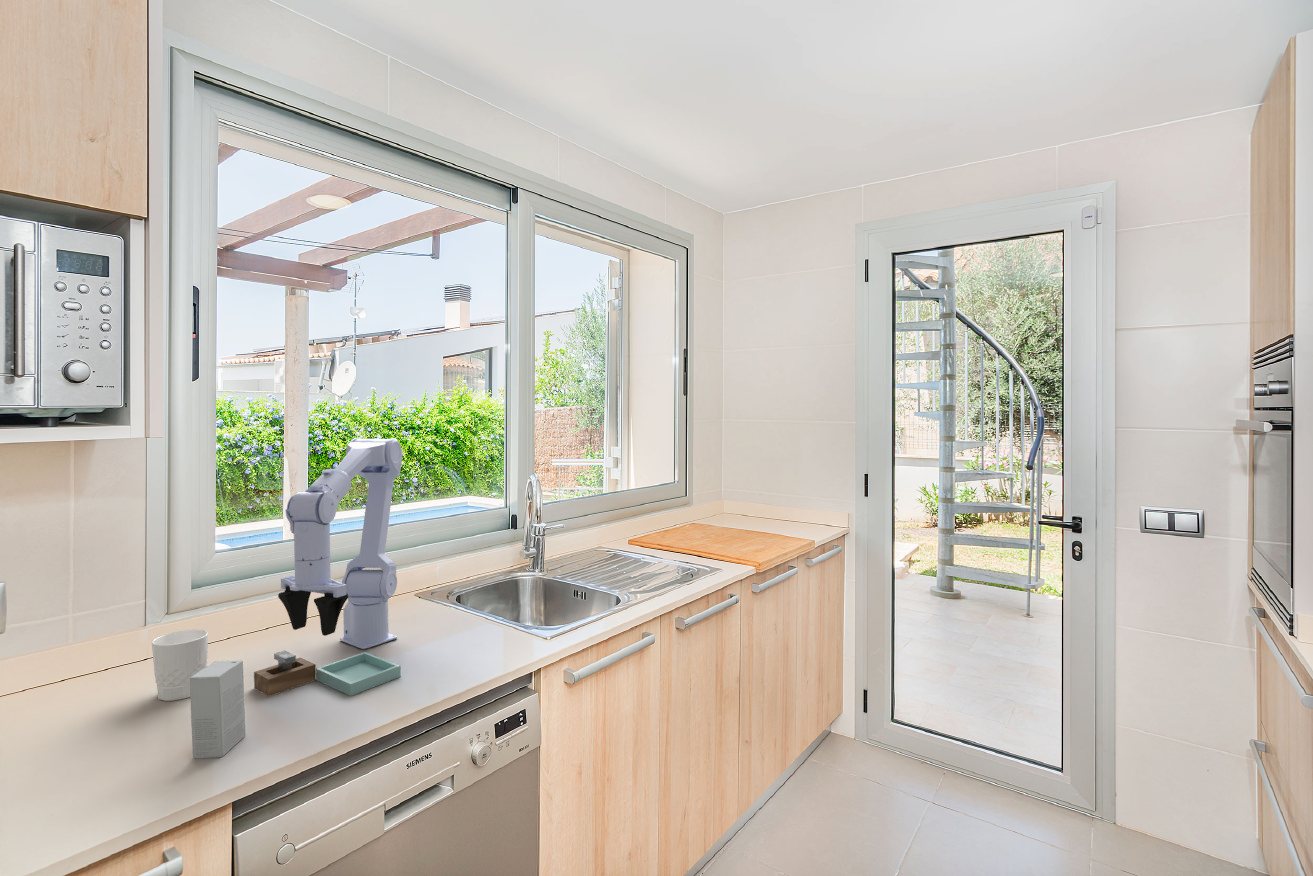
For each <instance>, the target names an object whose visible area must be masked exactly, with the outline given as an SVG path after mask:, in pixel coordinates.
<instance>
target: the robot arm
mask: <svg viewBox="0 0 1313 876" xmlns="http://www.w3.org/2000/svg"><path fill="white" fill-rule="evenodd" d="M345 450H346V453H345V456H344V457H343V458H342V459H341V461H340V462H339V464H338V465H337V466H336V468H331V469H329V468H328V469H325V470H324V471H323V472H322V474H321V475H319V477H318V478H317V479H316V480H315V481H314V482H313V483H311V485H309V487H308V488H307V489H306V490H305V491H298V492H297V493H295V494H294V495H291V497H290V498H289V499H288V501H287V505H286V509H285V517H286V519H287V521H288V522H289V527H290V529H289V531H290V532H291V534H293V546H294V547H293V551H294V554H293V555H294V556H293V557H294V558H293V559H294V575H293V576H292V575H289V576H285V577H282V578H280V589H281V590H284V591H282V592H280V593H278V594H277V597H278V599H279V600H280V601H281V603H282V604H283V606H284V608H285V610H286V612H287V615H288V617H289V621H290V624H291V627H292V629H293V630H294V631H296V630H299V629H302V628H305V627H306V626H307V620H308V607H309V601H310V598H311V594H312V593H317V594H322V596H320V597H316V598H314V599H313V603H314V605H315V606H316V608H317V610H318V615H319V620H320V621H319V622H320V630H321V636H324V637H325V636H328V635H332V634H334V633H335V632H336V629H337V624H338V621H339V617H340V614H341V612H342V609H343V614H342V615H343V617H342V618H343V636H342V637H340V638H339V641H340V642H344V643H346V644H349V645H351V646H354V647H356V648H359V649H361V650H367V649H369V648H372V647H375V646H379V645H381V644H385V643H387V642H390V641H394V640H396V639H398V636H397V635H394V634H392V633H390V632H389V600H390V599H391V598H392V597H393V595H394V594H395V593H396V591H397V584H398V578H397V564H396V563H395V562H394V561H393V560H392V559H390V558H389V557H388V556H387V555H386V548H387V547H386V546H387V545H386V544H387V538H388V529H389V522H390V521H389V520H390V513H391V505H392V498H393V489H394V481H395V480H396V479H397V478H399V477H400V475H401V469H402V460H403V449H402V446H401V444H400V442H399V441H398V439H397V438H395V437H394V438H393V437H392V438H358V437H354V438H353V439H351V440H350V441H349V443H347V445H346V449H345ZM357 475H358V476H359V477H361V478H363V479H365V480H366V481H367V483H368V488H367V496H366V504H365V512H364V517H363V518H364V519H363V525H362V533H361V540H360V547H359V548H360V549H359V554H358V555H357V556H355V557H354V558H353V559H352V560H350V561H349V562H347V565H346V569H345V573H344V575H343V577H342V581H341V582H339V581H337V580H336V579H333V578H331V536H330V535H331V532H330V531H331V527H330V523H331V522H332V521H333V520H334V519H335V517H336V514H337V510H338V508H339V505H340V502H341V500H342V499H343V498H344V497H345V496H346V494H348V492H349V491H350V490H351V488H352V480H353V479H354V478H355V477H356V476H357ZM367 568H368V569H367ZM370 568H371V569H370ZM374 568H375V569H374ZM376 568H377V569H376ZM378 568H379V569H378ZM346 601H347V602H346ZM344 605H345V606H344Z"/></svg>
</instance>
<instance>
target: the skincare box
mask: <svg viewBox="0 0 1313 876" xmlns="http://www.w3.org/2000/svg"><path fill="white" fill-rule="evenodd" d="M189 699H190V720H191V721H190V723H191V739H192V740H191V741H192V742H191V743H192V745H191V746H192V758H193V759H207V758H208V759H210V758H212V759H214V758H216V759H217V758H223V757H224V756H225V755H226V754H227V753H228V752H229V751H231V750H232V749H233V748H234V746H236V745H237V744H238V743H239V742H240V741H241V740H243V738H245V737H246V734H247V733H246V716H245V715H246V714H245V713H246V711H245V710H246V709H245V684H244V661H243V660H214V661H213V662H212V663H211V664H209V665H207V667H206V668H204V669H203V670H201V671H200V672H198V673H197V674H195V675H193V676H192V677H190V697H189Z"/></svg>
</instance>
